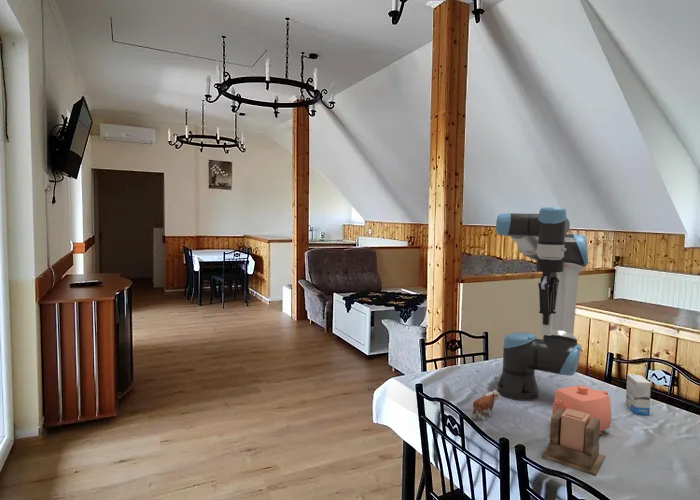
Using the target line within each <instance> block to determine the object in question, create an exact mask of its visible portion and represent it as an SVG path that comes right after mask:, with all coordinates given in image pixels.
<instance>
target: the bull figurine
mask: <svg viewBox="0 0 700 500" xmlns="http://www.w3.org/2000/svg"><path fill="white" fill-rule="evenodd" d="M498 399H499V400H501V399H502V396H501V394H500V393H499V392H498V391H497V389H490V391H488V393H486V394H484V395H482V396H480V397H478V398H477V399H475V400H473V403H472V408H473V411H472V419H473V420H476V419H477V418H476V413H477V414H478V417H479V419H481V420H483V421H486V417H485V416H484V413H485V414H488V416H490V417H492V416H493V415H492V411H493V407H494V405H495V401H497V400H498Z"/></svg>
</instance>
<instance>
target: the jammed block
mask: <svg viewBox="0 0 700 500" xmlns="http://www.w3.org/2000/svg"><path fill="white" fill-rule="evenodd" d="M589 421H590V414H586V413H584V412H580V411H576V410H572V409H568V408H567V409H566V411H565V412H564V413H563V414H562V416H561V435H560V445H561V446H564V447H567V448H570V449H573V450H577V451H580V452H583V453H584V448H585V431H586V426H587V425H588V423H589Z"/></svg>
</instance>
